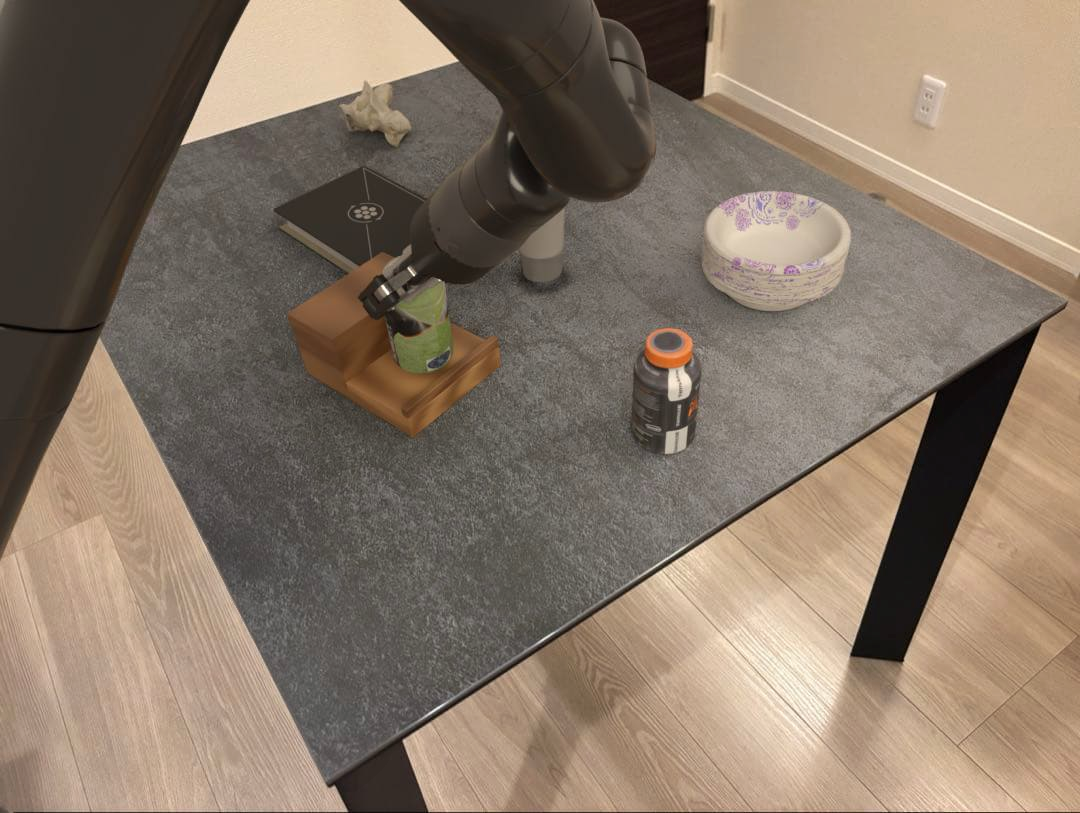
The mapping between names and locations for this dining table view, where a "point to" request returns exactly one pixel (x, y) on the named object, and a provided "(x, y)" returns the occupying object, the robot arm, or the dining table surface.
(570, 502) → the dining table surface
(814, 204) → the paper bowls
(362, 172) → the book
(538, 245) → the cup
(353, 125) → the decorative object
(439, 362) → the beverage can
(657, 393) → the pill bottle
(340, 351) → the wooden step stand
